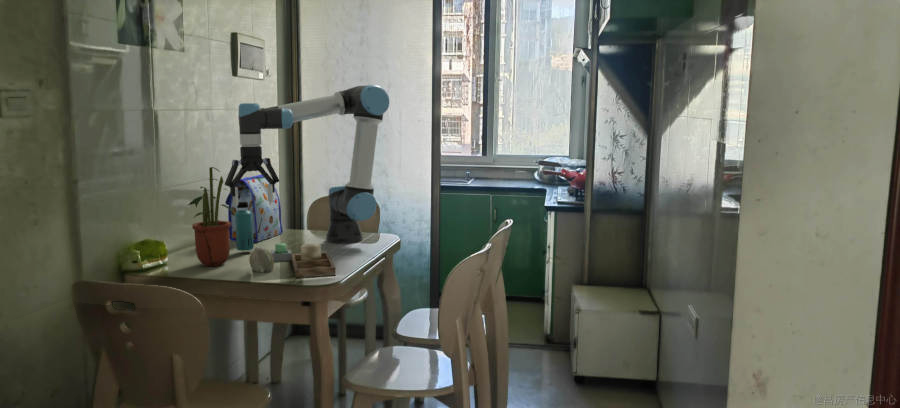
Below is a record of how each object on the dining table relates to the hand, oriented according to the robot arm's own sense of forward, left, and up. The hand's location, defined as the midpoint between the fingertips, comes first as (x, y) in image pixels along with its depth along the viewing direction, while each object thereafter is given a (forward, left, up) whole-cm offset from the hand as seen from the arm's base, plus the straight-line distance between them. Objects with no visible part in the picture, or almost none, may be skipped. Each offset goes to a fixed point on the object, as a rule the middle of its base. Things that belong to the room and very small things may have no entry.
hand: (253, 203), depth 256 cm
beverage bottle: (+4, -12, -21) cm, 25 cm away
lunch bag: (0, -43, -21) cm, 48 cm away
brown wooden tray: (-19, +24, -21) cm, 37 cm away
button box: (-9, +8, -21) cm, 24 cm away
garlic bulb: (-2, +24, -21) cm, 32 cm away
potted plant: (+14, +8, -21) cm, 27 cm away
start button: (-9, +8, -19) cm, 22 cm away
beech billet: (-19, +18, -20) cm, 33 cm away
